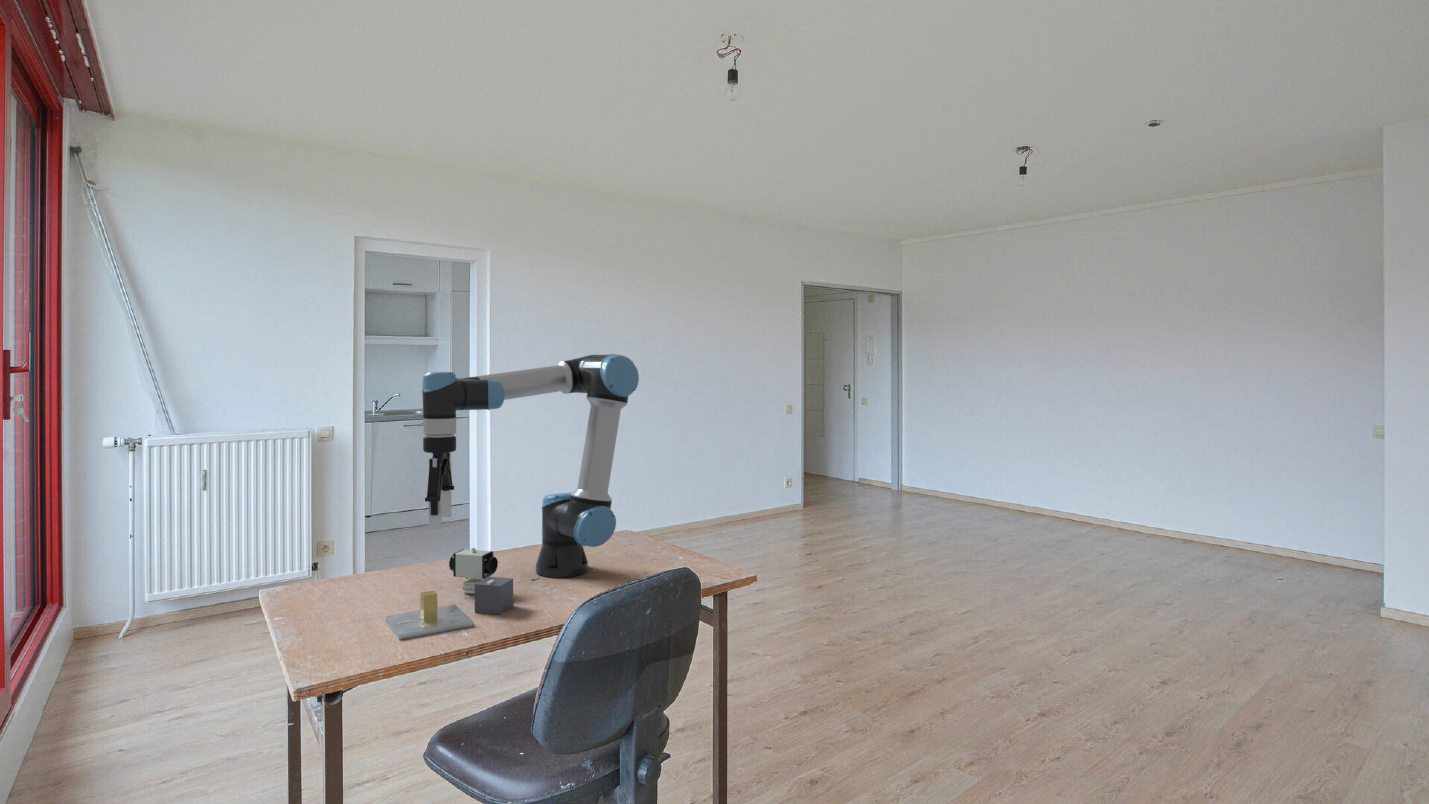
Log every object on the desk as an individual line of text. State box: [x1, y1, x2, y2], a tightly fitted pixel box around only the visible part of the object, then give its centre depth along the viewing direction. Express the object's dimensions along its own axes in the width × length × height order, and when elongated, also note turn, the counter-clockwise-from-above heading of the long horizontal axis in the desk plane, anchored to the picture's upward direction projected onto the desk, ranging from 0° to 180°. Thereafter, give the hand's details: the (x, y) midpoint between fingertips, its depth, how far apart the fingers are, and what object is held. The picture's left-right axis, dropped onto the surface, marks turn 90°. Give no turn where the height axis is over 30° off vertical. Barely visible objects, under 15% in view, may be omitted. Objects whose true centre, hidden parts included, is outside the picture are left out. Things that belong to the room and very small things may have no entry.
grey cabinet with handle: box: [474, 576, 514, 615], centre depth 181 cm, size 7×7×8 cm
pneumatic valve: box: [448, 547, 499, 596], centre depth 193 cm, size 6×12×12 cm, turn 78°
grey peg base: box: [385, 590, 474, 641], centre depth 170 cm, size 16×14×7 cm
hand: (440, 522), depth 178 cm, fingers open, 13 cm apart
